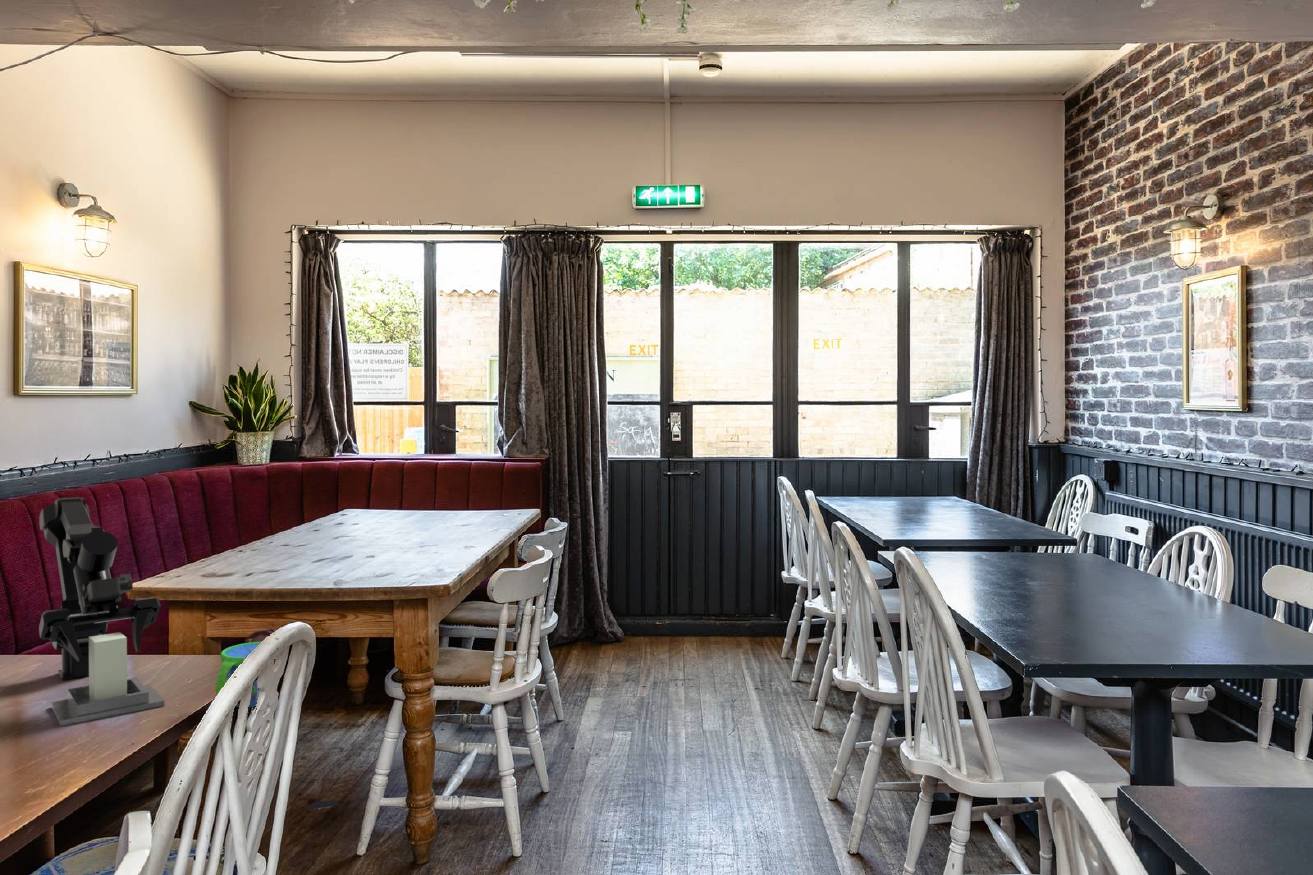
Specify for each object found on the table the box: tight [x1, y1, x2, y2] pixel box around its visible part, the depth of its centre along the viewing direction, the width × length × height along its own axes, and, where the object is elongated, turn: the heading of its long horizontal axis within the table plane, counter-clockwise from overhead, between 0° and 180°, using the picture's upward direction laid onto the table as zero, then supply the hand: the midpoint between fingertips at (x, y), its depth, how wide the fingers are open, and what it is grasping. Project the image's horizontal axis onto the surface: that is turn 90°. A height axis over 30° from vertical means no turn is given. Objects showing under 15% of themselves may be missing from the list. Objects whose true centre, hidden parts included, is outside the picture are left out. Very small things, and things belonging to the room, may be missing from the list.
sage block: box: [88, 631, 128, 701], centre depth 158 cm, size 5×5×12 cm
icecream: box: [244, 627, 276, 643], centre depth 188 cm, size 7×7×15 cm
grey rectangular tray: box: [50, 677, 166, 727], centre depth 158 cm, size 12×16×3 cm
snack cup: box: [215, 642, 261, 708], centre depth 161 cm, size 16×10×10 cm
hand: (109, 655), depth 156 cm, fingers open, 9 cm apart
